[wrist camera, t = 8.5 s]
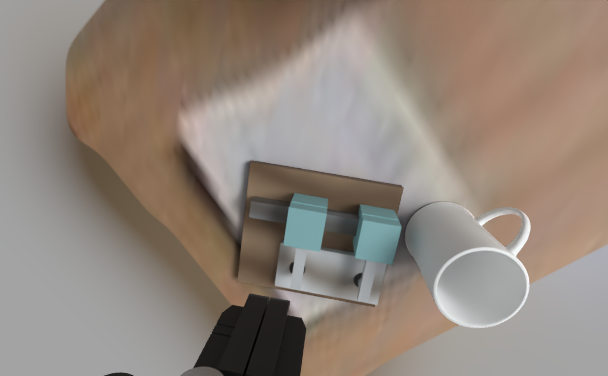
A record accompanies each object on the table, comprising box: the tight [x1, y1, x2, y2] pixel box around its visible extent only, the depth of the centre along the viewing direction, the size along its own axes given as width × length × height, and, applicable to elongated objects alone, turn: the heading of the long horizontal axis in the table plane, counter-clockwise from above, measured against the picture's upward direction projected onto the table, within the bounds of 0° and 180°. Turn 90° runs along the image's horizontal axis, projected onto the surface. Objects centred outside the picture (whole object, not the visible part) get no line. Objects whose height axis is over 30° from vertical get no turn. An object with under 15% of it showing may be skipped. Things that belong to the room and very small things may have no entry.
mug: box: [405, 202, 530, 328], centre depth 35 cm, size 12×8×12 cm
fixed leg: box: [353, 204, 402, 302], centre depth 38 cm, size 10×4×5 cm, turn 172°
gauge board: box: [238, 161, 403, 307], centre depth 41 cm, size 16×18×3 cm
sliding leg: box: [283, 193, 328, 290], centre depth 39 cm, size 10×4×5 cm, turn 171°
